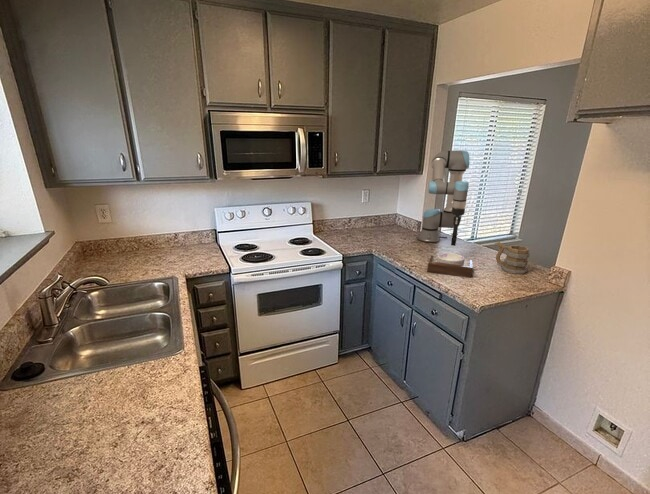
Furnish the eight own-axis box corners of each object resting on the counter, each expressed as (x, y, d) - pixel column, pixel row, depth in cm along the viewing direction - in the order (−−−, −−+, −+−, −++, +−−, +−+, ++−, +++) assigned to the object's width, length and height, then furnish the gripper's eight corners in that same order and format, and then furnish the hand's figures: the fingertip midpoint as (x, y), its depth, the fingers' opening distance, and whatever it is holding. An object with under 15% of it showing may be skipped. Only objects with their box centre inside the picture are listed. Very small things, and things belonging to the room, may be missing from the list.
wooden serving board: (430, 262, 223) (431, 253, 221) (471, 267, 216) (472, 258, 213) (427, 272, 209) (428, 262, 206) (471, 277, 201) (472, 267, 199)
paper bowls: (440, 263, 223) (441, 251, 220) (465, 267, 216) (467, 255, 213) (433, 270, 211) (434, 257, 208) (459, 275, 204) (461, 262, 201)
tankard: (529, 270, 212) (535, 246, 206) (520, 275, 204) (526, 250, 199) (496, 261, 226) (500, 239, 220) (486, 266, 218) (491, 243, 212)
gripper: (452, 205, 221) (447, 241, 230) (451, 209, 210) (446, 247, 219) (465, 206, 218) (459, 242, 227) (465, 210, 207) (459, 248, 216)
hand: (453, 245), depth 223 cm, fingers closed
